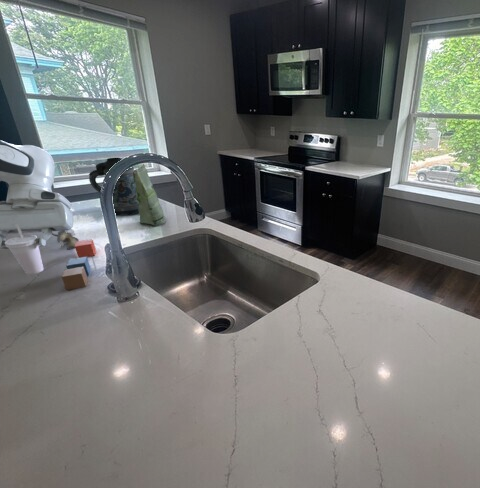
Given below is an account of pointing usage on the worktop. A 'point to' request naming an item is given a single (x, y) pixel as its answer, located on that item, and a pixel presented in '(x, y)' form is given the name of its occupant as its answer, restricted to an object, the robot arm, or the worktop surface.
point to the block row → (79, 265)
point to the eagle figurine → (67, 238)
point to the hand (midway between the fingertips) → (22, 246)
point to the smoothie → (26, 252)
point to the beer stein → (119, 188)
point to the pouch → (147, 198)
